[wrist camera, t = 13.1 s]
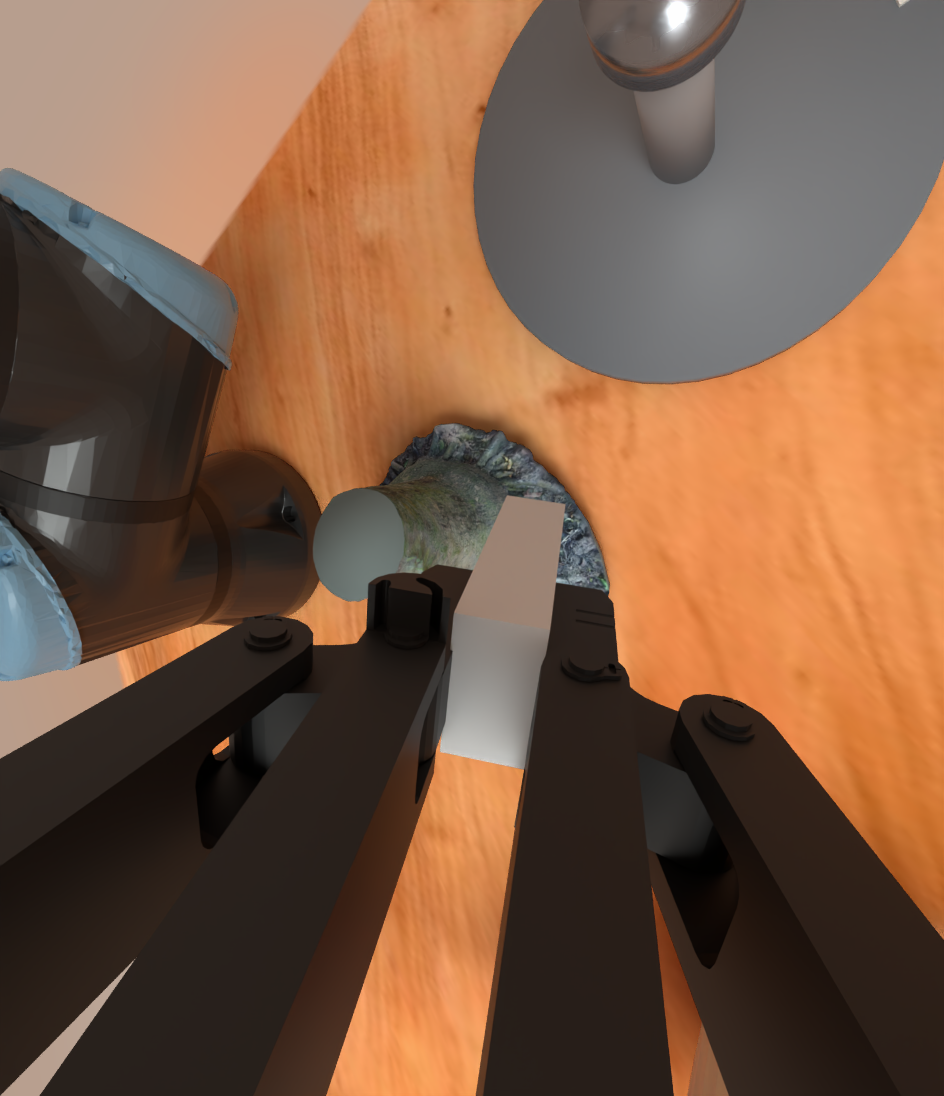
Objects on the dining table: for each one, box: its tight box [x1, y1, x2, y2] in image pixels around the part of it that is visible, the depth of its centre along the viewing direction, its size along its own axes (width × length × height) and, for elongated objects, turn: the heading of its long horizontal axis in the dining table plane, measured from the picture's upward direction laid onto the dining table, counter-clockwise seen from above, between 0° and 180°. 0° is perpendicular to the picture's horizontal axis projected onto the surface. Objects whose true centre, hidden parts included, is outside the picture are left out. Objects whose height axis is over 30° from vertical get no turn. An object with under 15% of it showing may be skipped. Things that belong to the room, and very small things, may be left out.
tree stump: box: [313, 423, 610, 601], centre depth 39 cm, size 18×20×18 cm
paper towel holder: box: [474, 0, 944, 384], centre depth 30 cm, size 26×26×12 cm
